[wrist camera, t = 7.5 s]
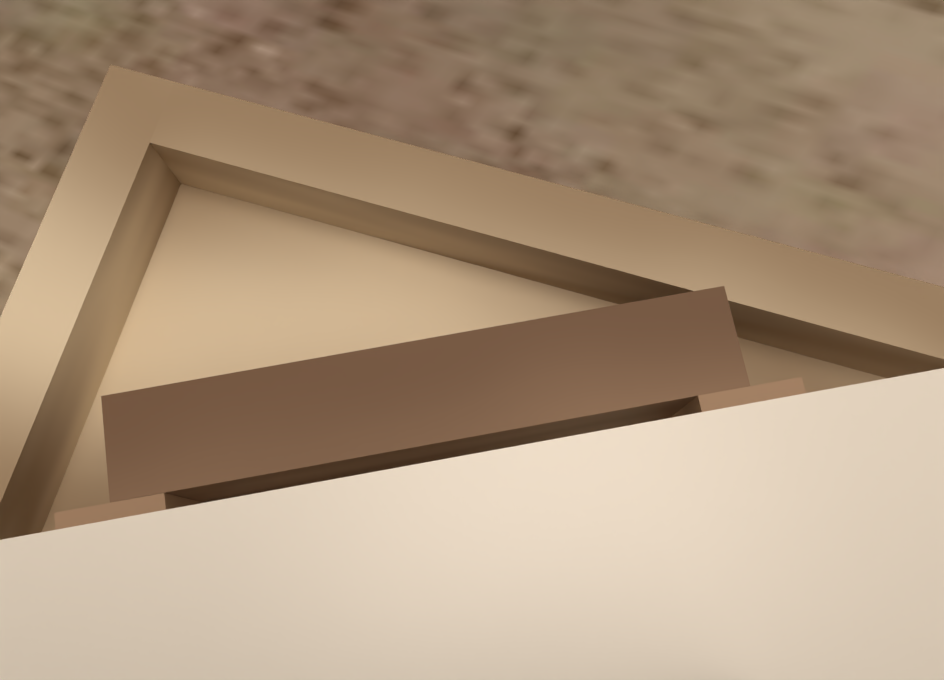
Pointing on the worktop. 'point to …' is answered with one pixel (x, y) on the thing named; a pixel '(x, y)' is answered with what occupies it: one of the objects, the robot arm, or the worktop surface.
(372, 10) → the worktop surface
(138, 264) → the tray
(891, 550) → the white tall post
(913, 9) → the worktop surface
